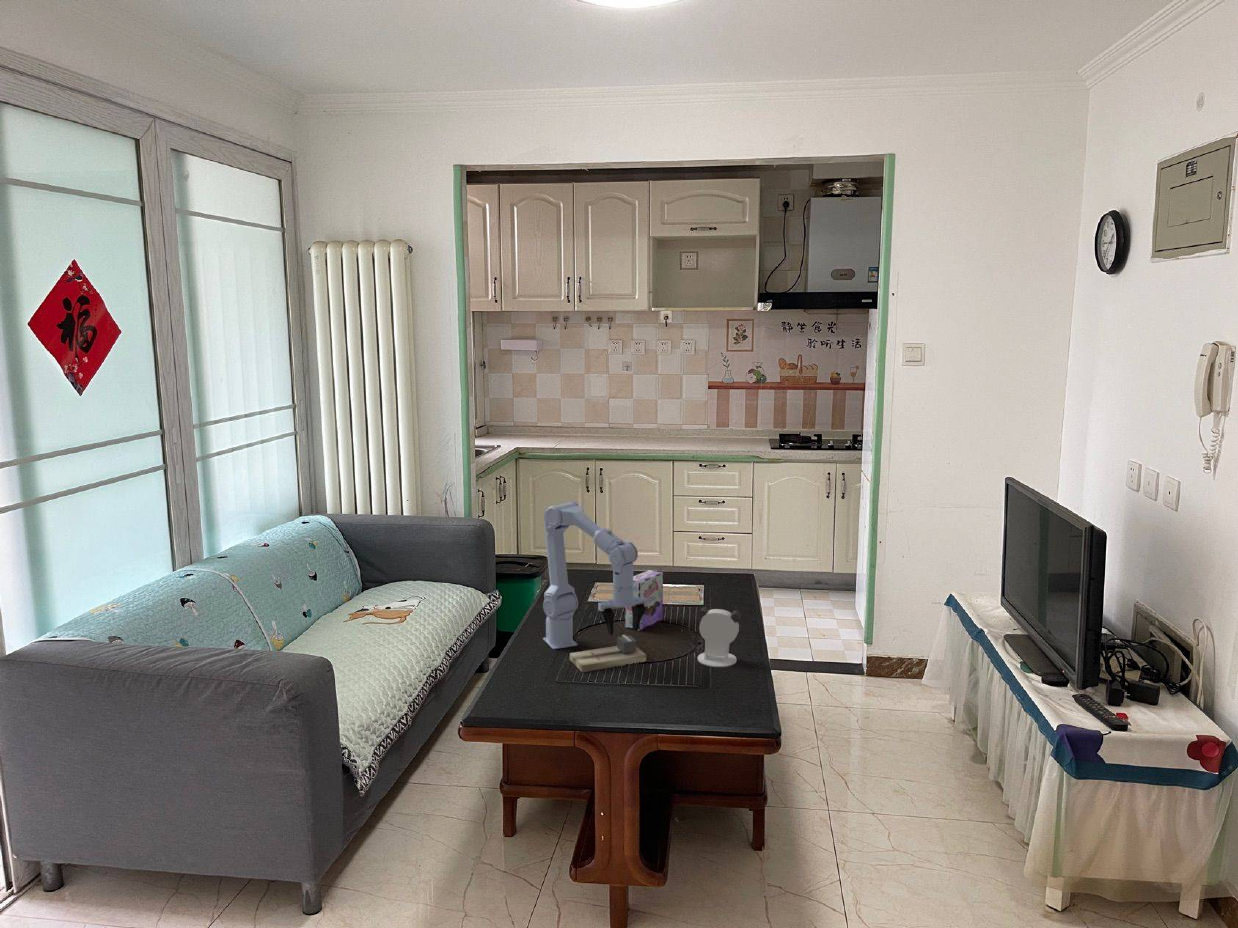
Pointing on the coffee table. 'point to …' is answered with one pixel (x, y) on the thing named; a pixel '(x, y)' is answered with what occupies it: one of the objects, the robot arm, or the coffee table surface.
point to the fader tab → (626, 644)
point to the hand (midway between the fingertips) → (622, 631)
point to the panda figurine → (718, 636)
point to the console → (605, 658)
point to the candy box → (652, 589)
